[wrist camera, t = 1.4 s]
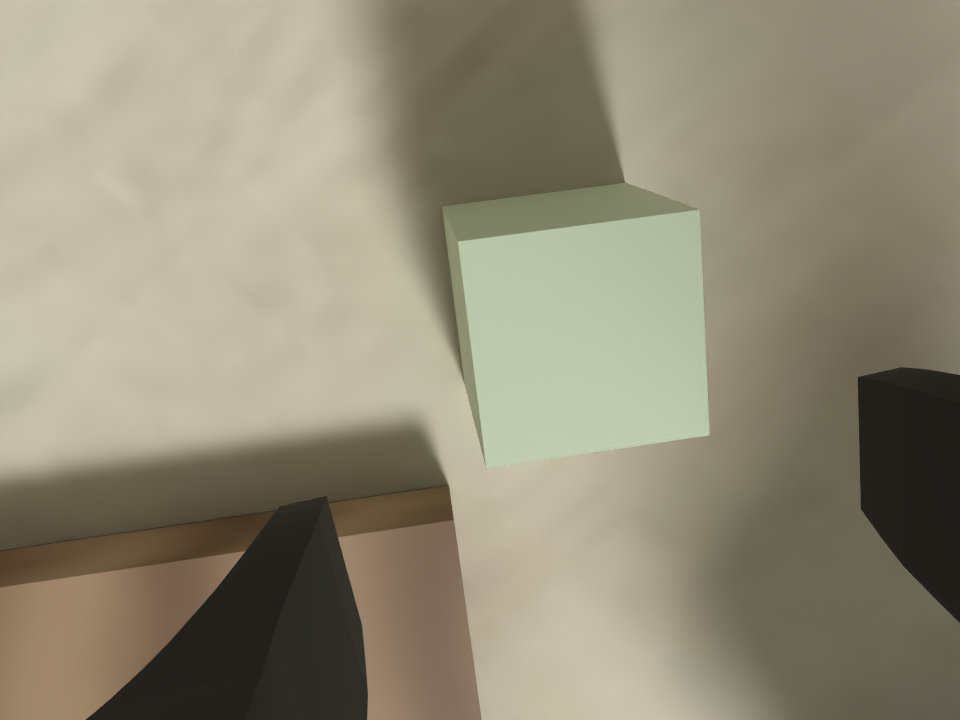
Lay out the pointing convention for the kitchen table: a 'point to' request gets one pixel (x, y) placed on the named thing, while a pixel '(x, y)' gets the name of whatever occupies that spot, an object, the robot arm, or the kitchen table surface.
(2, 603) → the walnut base
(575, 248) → the sage block
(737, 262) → the kitchen table surface
